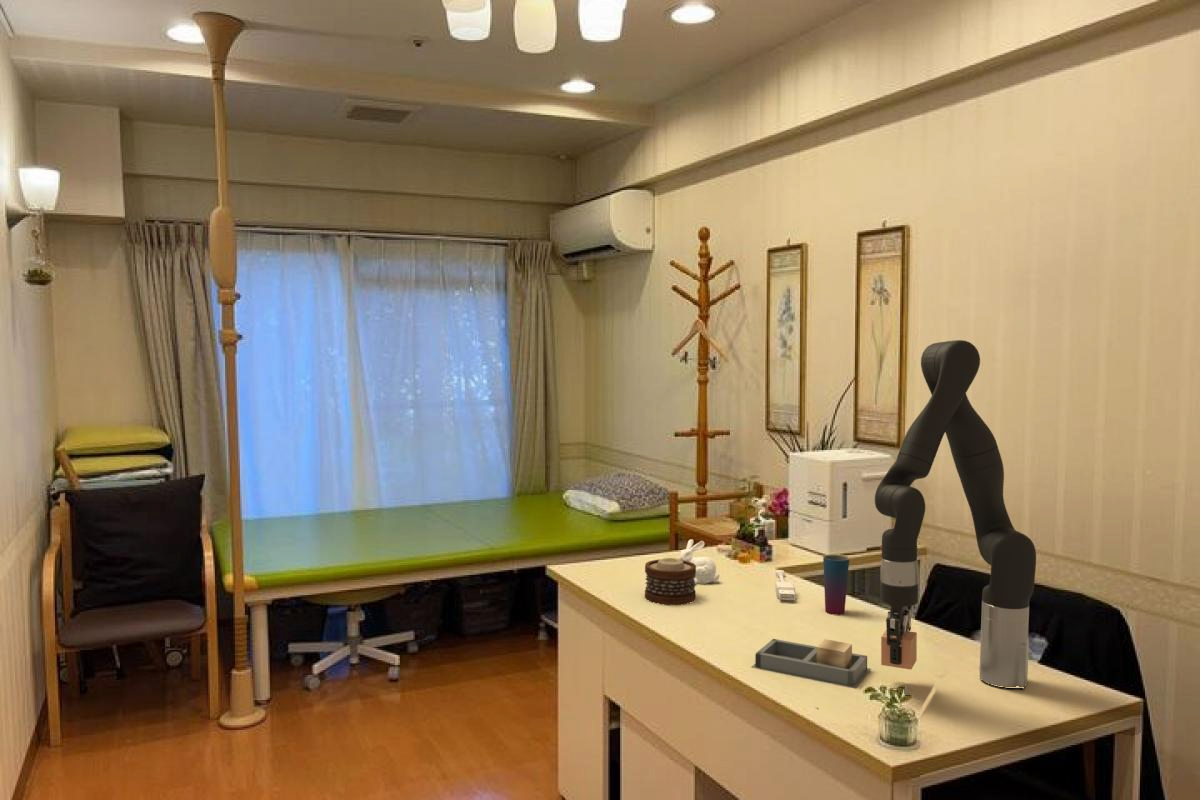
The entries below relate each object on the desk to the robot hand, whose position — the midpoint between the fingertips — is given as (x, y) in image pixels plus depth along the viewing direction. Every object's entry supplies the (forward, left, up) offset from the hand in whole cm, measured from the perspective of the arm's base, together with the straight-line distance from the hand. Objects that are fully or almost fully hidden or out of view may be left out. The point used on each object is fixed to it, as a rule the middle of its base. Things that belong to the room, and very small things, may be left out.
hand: (899, 658), depth 188 cm
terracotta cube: (0, 0, -1) cm, 1 cm away
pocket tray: (+19, 0, -7) cm, 20 cm away
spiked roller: (+71, -36, -7) cm, 80 cm away
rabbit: (+72, -56, -7) cm, 91 cm away
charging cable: (+47, -62, -7) cm, 78 cm away
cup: (+27, -47, -7) cm, 54 cm away
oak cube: (+14, 0, -6) cm, 15 cm away
